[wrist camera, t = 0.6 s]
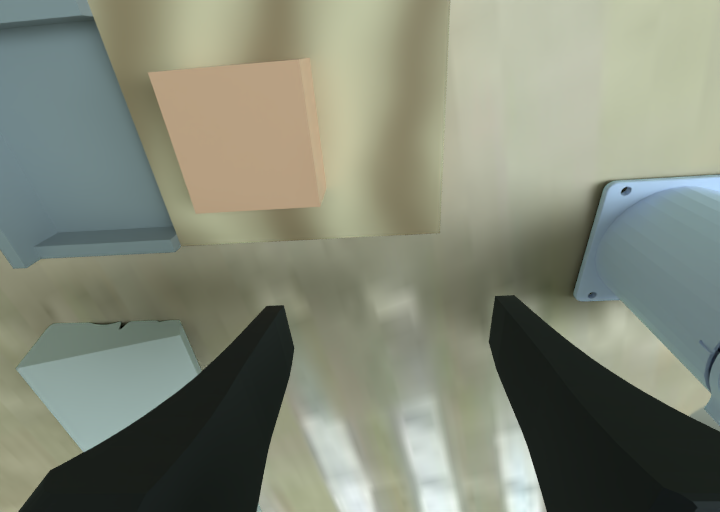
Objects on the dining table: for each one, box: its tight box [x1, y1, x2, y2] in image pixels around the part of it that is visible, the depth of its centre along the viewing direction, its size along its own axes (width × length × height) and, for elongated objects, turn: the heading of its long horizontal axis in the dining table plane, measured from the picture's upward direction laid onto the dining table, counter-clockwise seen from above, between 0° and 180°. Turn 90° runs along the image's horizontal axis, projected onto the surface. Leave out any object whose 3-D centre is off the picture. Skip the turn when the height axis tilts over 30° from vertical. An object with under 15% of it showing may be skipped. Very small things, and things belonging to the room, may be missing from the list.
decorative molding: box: [16, 320, 262, 512], centre depth 34 cm, size 34×5×10 cm
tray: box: [0, 0, 181, 269], centre depth 18 cm, size 9×12×3 cm
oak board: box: [87, 0, 450, 246], centre depth 18 cm, size 15×12×2 cm
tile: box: [148, 58, 327, 214], centre depth 16 cm, size 6×6×2 cm
